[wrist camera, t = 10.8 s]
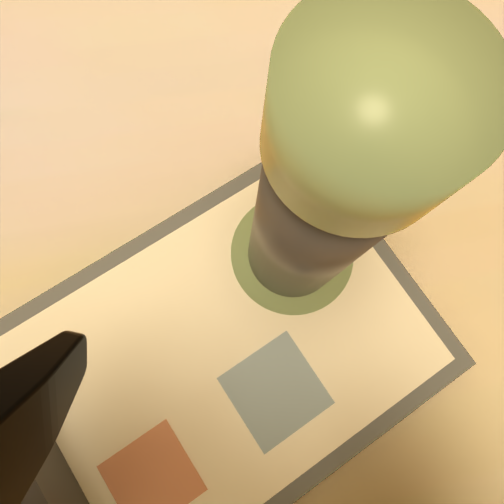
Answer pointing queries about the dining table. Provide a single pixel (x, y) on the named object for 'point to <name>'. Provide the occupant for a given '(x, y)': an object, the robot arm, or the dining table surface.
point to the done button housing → (55, 483)
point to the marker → (369, 129)
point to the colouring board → (231, 363)
